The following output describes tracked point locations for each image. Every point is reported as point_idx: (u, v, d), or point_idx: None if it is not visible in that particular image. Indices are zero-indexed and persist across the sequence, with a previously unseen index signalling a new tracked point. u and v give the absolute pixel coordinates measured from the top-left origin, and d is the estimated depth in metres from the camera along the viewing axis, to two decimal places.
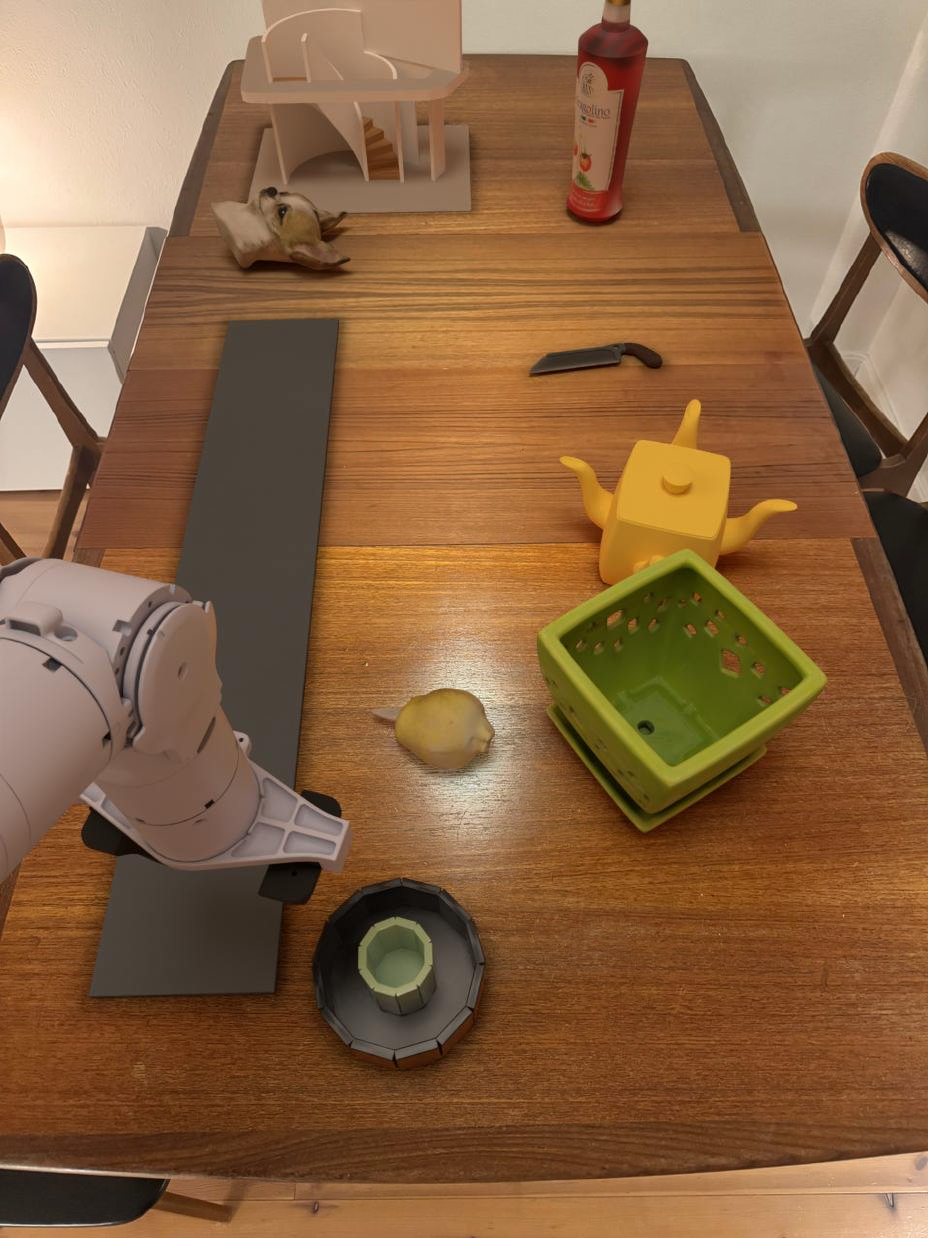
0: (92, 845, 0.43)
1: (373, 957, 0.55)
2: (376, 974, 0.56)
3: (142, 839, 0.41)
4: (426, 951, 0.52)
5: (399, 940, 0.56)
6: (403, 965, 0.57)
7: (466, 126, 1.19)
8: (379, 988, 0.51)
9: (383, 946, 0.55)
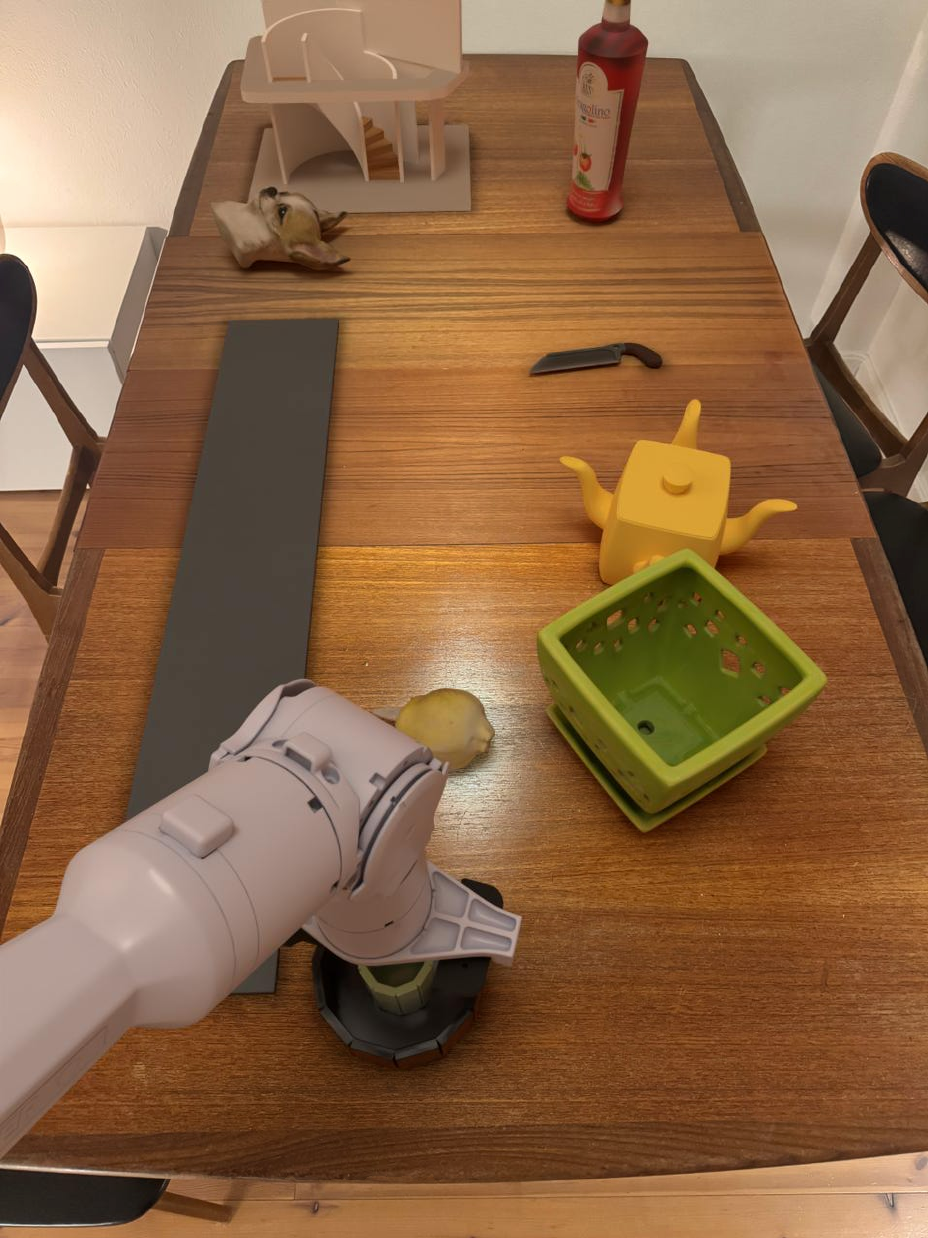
0: None
1: None
2: (376, 974, 0.56)
3: (322, 935, 0.42)
4: None
5: None
6: (403, 965, 0.57)
7: (466, 126, 1.19)
8: (379, 988, 0.51)
9: None
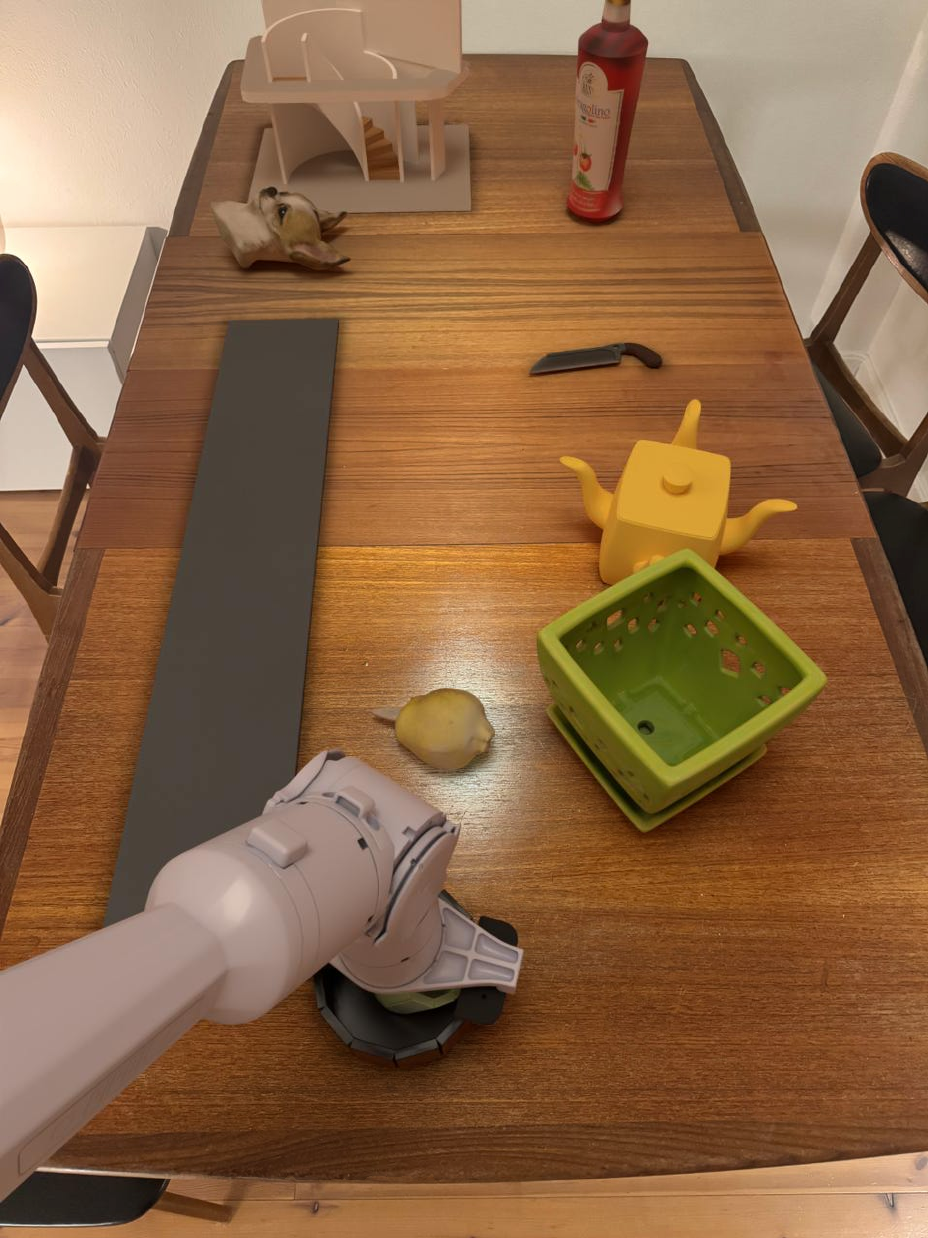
0: None
1: None
2: None
3: (343, 966, 0.46)
4: None
5: None
6: None
7: (466, 126, 1.19)
8: (418, 998, 0.50)
9: None
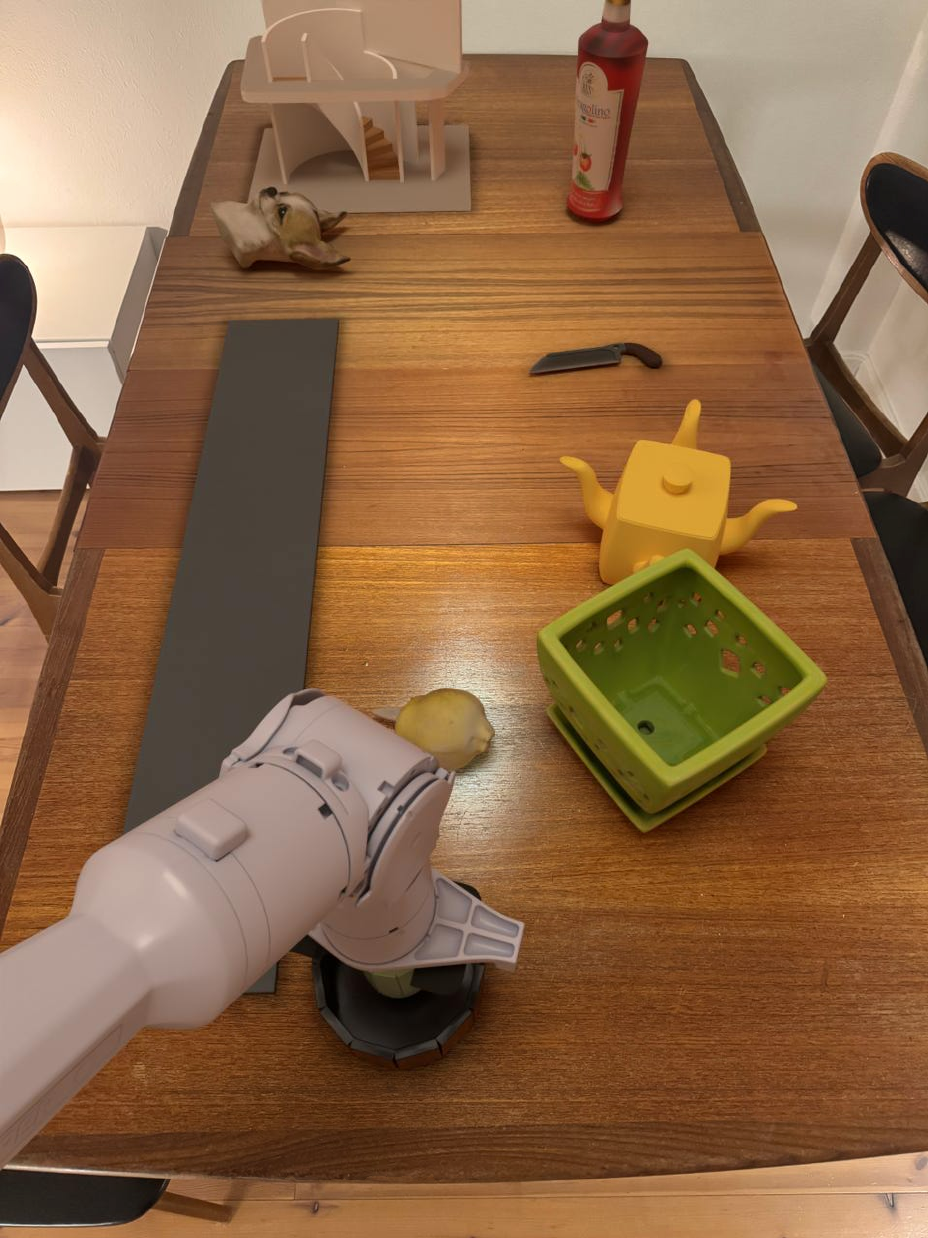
0: (291, 948, 0.44)
1: None
2: None
3: (326, 941, 0.42)
4: None
5: None
6: None
7: (466, 126, 1.19)
8: (379, 971, 0.49)
9: None
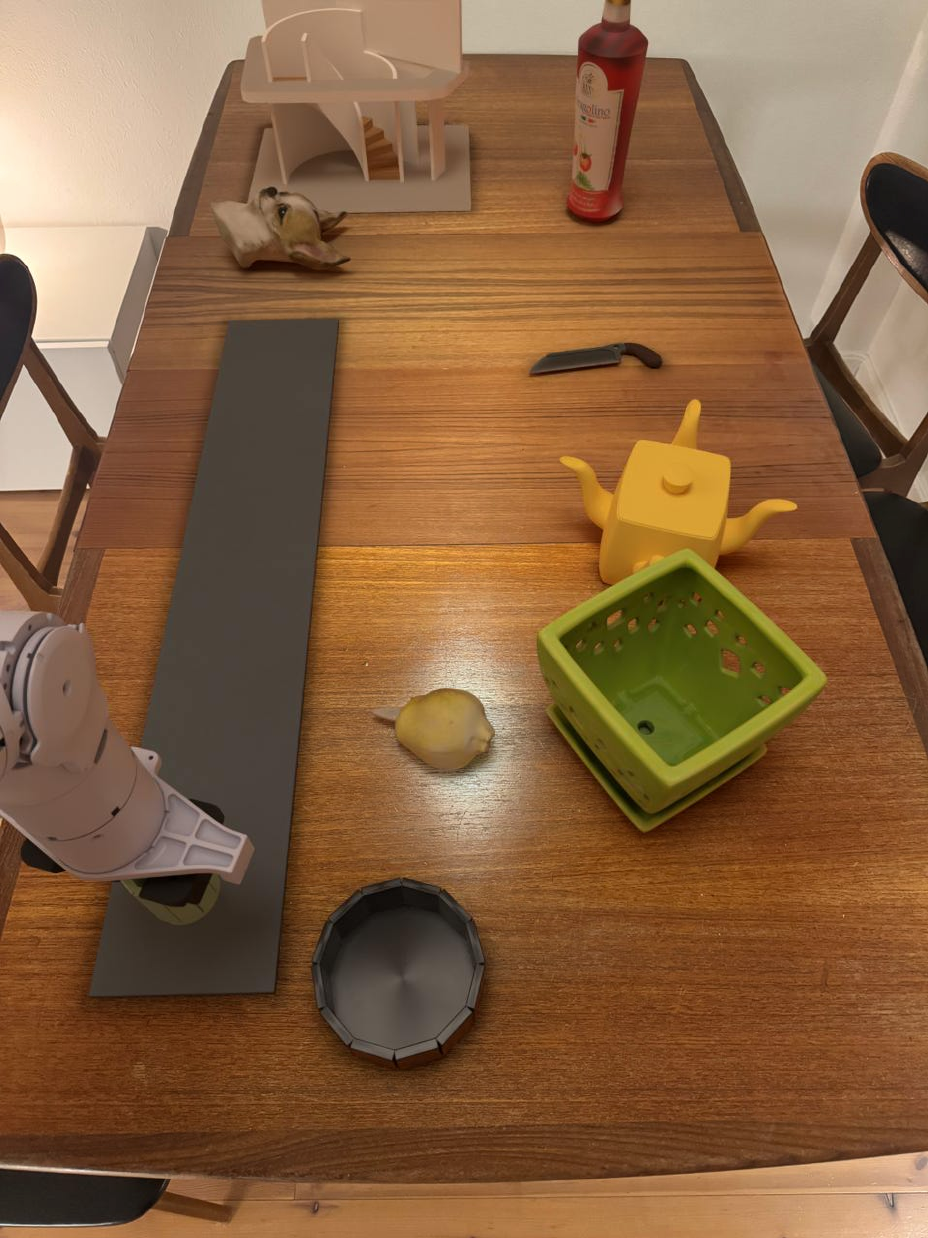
0: (30, 863, 0.45)
1: None
2: None
3: (52, 852, 0.43)
4: None
5: None
6: None
7: (466, 126, 1.19)
8: (139, 892, 0.50)
9: None
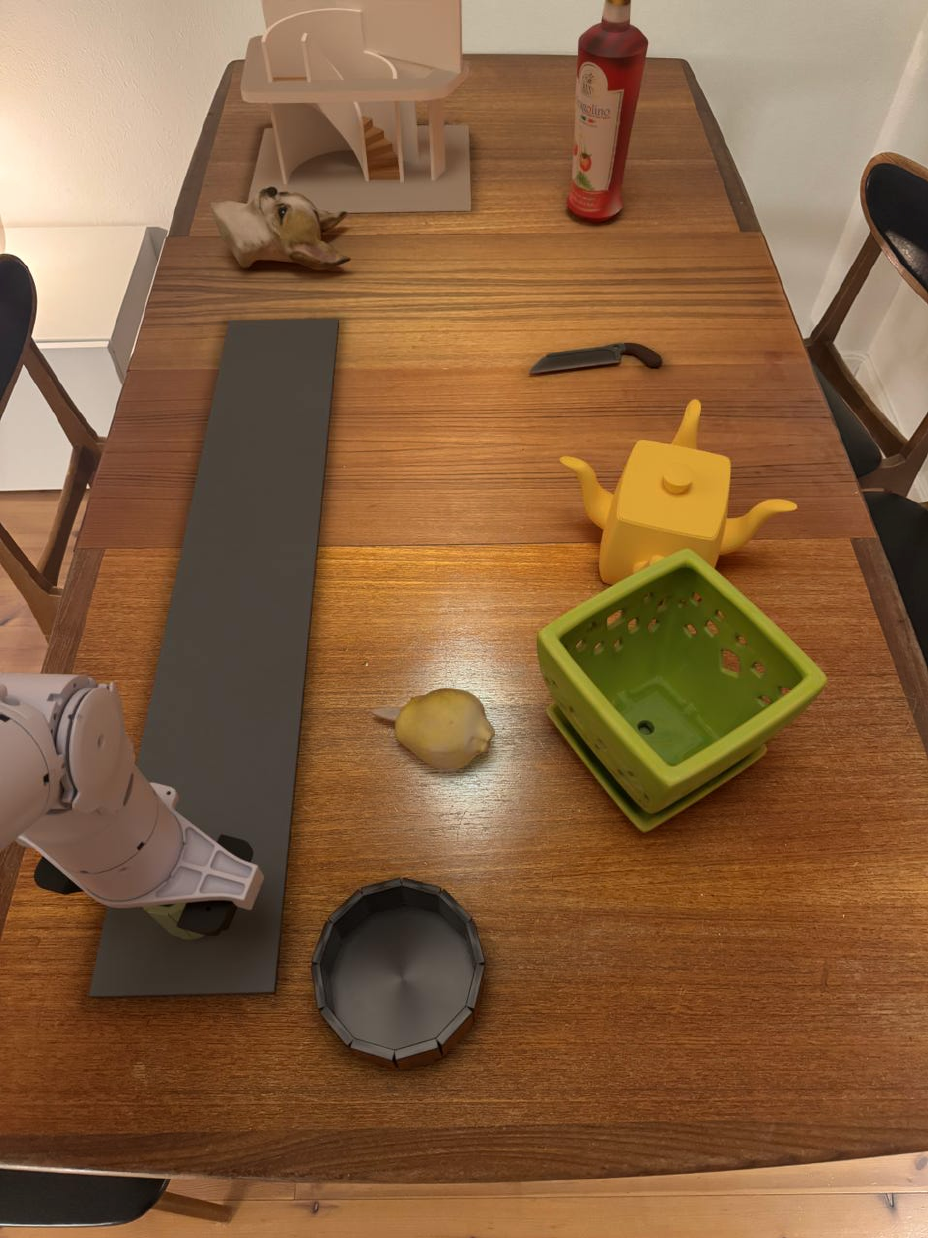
0: (43, 885, 0.50)
1: None
2: (168, 905, 0.59)
3: (80, 881, 0.48)
4: None
5: None
6: None
7: (466, 126, 1.19)
8: (153, 909, 0.53)
9: None
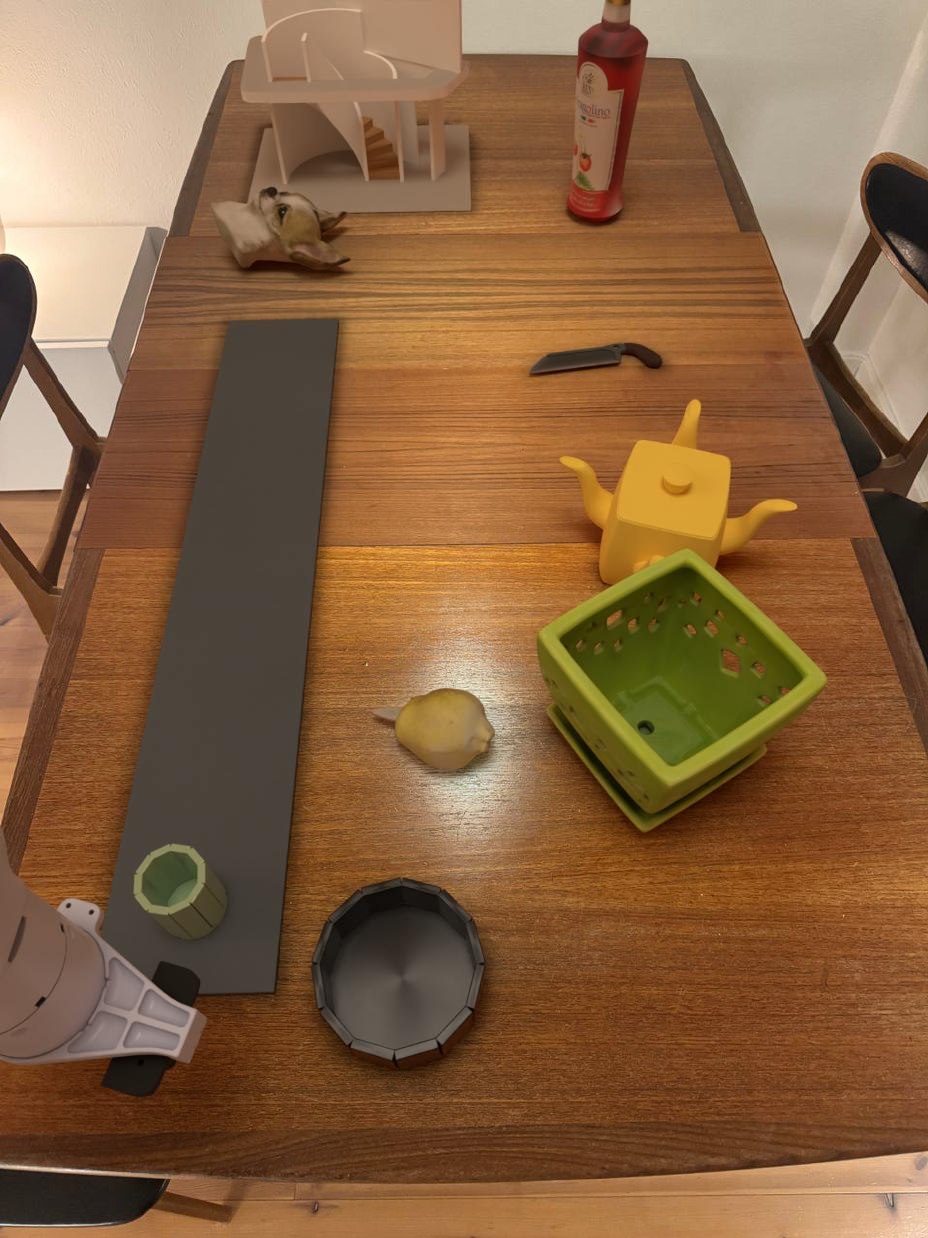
0: None
1: (158, 886, 0.57)
2: (168, 905, 0.59)
3: None
4: (199, 871, 0.55)
5: (185, 869, 0.58)
6: None
7: (466, 126, 1.19)
8: (153, 909, 0.53)
9: (170, 876, 0.58)
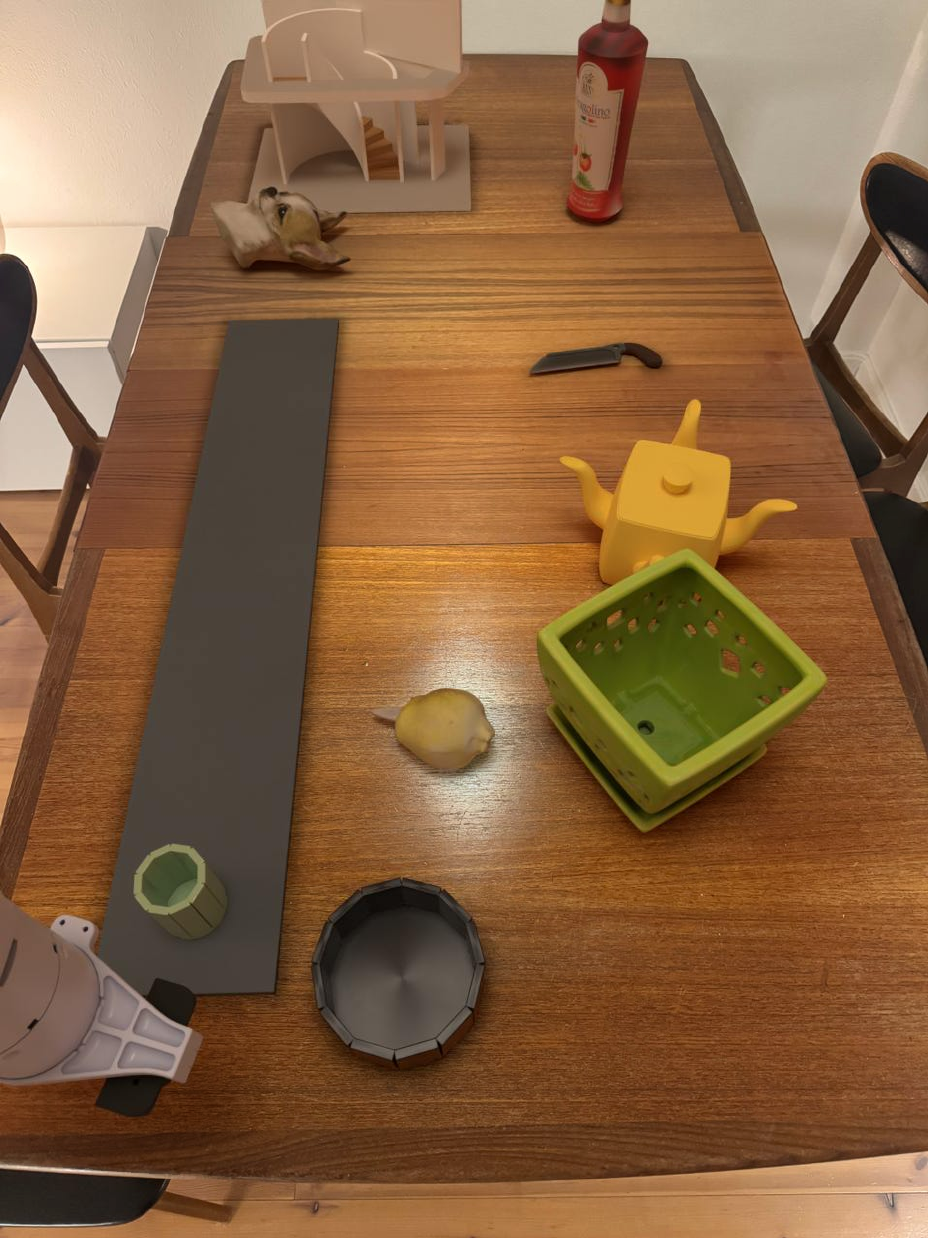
0: None
1: (158, 886, 0.57)
2: (168, 905, 0.59)
3: None
4: (199, 871, 0.55)
5: (185, 869, 0.58)
6: None
7: (466, 126, 1.19)
8: (153, 909, 0.53)
9: (170, 876, 0.58)
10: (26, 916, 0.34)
